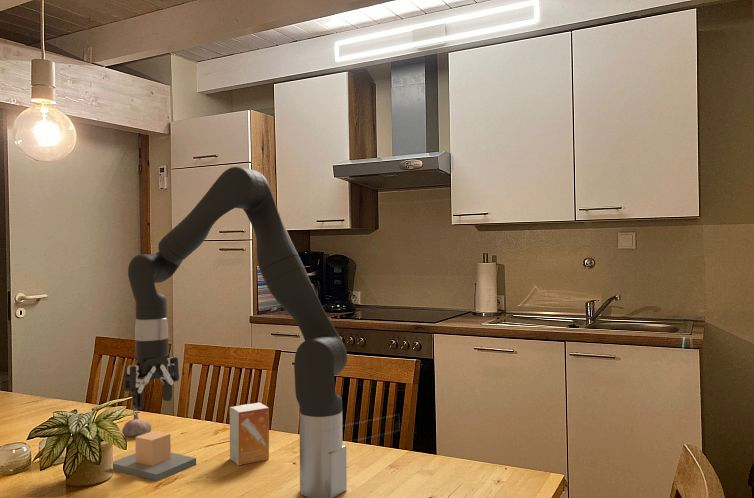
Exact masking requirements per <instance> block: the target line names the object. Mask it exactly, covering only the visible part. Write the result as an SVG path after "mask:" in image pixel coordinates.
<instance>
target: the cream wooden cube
mask: <svg viewBox="0 0 754 498" xmlns="http://www.w3.org/2000/svg"><path fill="white" fill-rule="evenodd" d="M134 437H135V439H134V440H135V453H136V462H137V463H142V464H146V465H150V466H153V465H156V464H158V463H161V462H163V461H166V460H169V459H171V453H172V452H171V433H167V432H162V431H158V430H151V431H150V432H149V433H146V434H143V435H140V436H134Z"/></svg>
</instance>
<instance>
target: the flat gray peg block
mask: <svg viewBox="0 0 754 498" xmlns="http://www.w3.org/2000/svg"><path fill="white" fill-rule="evenodd" d="M112 462H113V470H112V471H116V472H120V473H125V474H128V475H131V476H136V477H140V478H142V479H146V480H150V481H151V480H152V481H155V482H158V481H160V480H163V479H165V478H167V477H170V476H172V475H174V474H177V473H179V472H182V471H184V470H186V469H189V468H190V467H193V466H196V465H197V458H196V457H191V456H188V455H183V454H179V453H174V452H171V459H169V460H166V461H163V462H161V463H158V464H156V465H153V466H150V465H146V464H142V463H137V462H136V452H135V453H132V454H130V455H127V456H124V457H122V458H119V459H116V460H113V461H112Z"/></svg>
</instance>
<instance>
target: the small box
mask: <svg viewBox="0 0 754 498" xmlns="http://www.w3.org/2000/svg"><path fill="white" fill-rule="evenodd" d="M229 459H230V460H232V461H233V463H235V464H237V465H238V466H243V465H246V464H251V463H256V462H262V461H268V460H269V459H270V407H268V406H267V405H265V404H263V403H261V402H260V401H259V402H254V403H248V404H241V405H235V406H229Z"/></svg>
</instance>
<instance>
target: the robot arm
mask: <svg viewBox="0 0 754 498" xmlns="http://www.w3.org/2000/svg"><path fill="white" fill-rule="evenodd" d="M235 209H242V210H243V212H244V213H245V215H246V216H247V218H248V220H249V222H250V225H251V226H252V229H253V231H254V235H255V239H256V240H255V241H256V260H257V261H256V262H257V265H258V269H259V271H260V274H261V276H262V278H263V281H264V282H265V285H266V287H267V289H268V291H269V292H270V294H271V296H272V297H273V298H274V299H275V300H276V302H278V304H279V305H280V306H281V307H282V308H283V309H284V310H285V311H286V312H287V313H288V315H289V316H290V317H291V318H292V319H293V320H294V322H295V324H296V325H297V327H298V328H299V330H300V333H301V336H303V339H304V341H303V342H302V343H300V344H299V346H298V347H297V349H296V351H295V355H294V361H293V366H294V367H293V369H294V387H295V389H294V390H295V391H294V392H295V398H296V401H297V403H298V407H299V409H298V410H299V493H300V495H302V496H304V497H306V498H336V497H337V496H339V495H340V494H342V493H344V492H345V491H347V489H348V487H347V486H348V485H347V482H348V481H347V478H348V477H347V473H348V471H347V469H348V467H347V465H348V464H347V463H348V462H347V446H346V445H344V444H343V399H342V397H341V396H340V395H339V394H337V393H336V388H335V387H336V385H335V376H336V375H338V374H339V373H341V372H342V371H343V370H344V369H345V368H346V365H347V362H348V361H347V360H348V352H347V348H346V346H345V344H344V341H343V340H342V338H341V337H340V335H339V333H338V331H337V329H336V328H335V327H334V324H333V323H332V322H331V320H330V318H329V316H328V314H327V313H326V311H325V309H324V308H323V305H322V303H321V300H320V299H319V296H318V295H317V292H316V289H315V288H314V285H313V284H312V282H311V279H310V278H309V275H308V272H307V270H306V267H305V265H304V264H303V261H302V258H301V257H300V255H299V253H298V251H297V249H296V247H295V245H294V243H293V241H292V238H291V236H290V235H289V232H288V230H287V227H286V226H285V224H284V223H283V220H282V217H281V215H280V212H279V209H278V206H277V204H276V201H275V197H274V196H273V192H272V189H271V186H270V183H269V182H268V180H267V178H266V177H265V176H264V175H263V174H262V173H261V172H259V171H257V170H256V169H255V170H254V169H251V168H246V167H242V166H233V167H232V166H231V167H229V168H227V169H226V170H224V171H223V172H222V174H220V176H218V178H217V179H216V180H215V182H214V183H213V184H212V185H211V186H210V188H209V189H208V190H207V191H206V193H205V194H204V195H203V197H202V198H201V199H200V200H199V202H198V203H197V204H196V205H195V207H194V208H193V209H192V210H191V211H190V212H189V213H188V214H187V215H186V216H185V217H184V218H183V219H182V220H181V221H180V222H179V223H177V225H176V226H174V227H173V228H172V229H171V230H170V231H169V232H168V233H167V234H166V235H164V236H163V237H162V238H161V240H160V241H159V242H158V245H157V248H158V249H157V250H158V251H157V252H156V253H153V254H151V253H150V254H145V253H143V254H137V255H135V256H133V257H132V259H131V260H130V262H129V264H128V268H127V276H128V281H129V286H130V288H131V292H132V294H133V298H134V302H135V325H134V346H135V347H134V348H135V352H134V353H135V358H136V360H137V362H136V364H135V365H129V364H127V365H126V366H124V383H123V384H124V387H123V390H124V391H125V392H128V393H131V395H132V399H131V401H132V407H133V409H134V408H135V409H137V410H141V409H143V407H144V404H143V403H144V401H143V400H144V399H143V390H144V389H145V386H146V385H148V384H149V382H150V381H154V380H155V379H157V380H160V382H161V383H162V401H165V402H170V401H171V400H172V397H173V385H174V383H175V382H178V381H179V380H180V370H179V359H178V357H176V356H169V354H170V352H169V349H170V348H169V347H170V346H169V323H168V311H167V310H168V307H167V305H168V304H167V297H166V295H164V294H162V293H160V292H158V291H157V289H156V286H155V285H156V284H160V283H163V282H165V281H167V280H169V278H171V277H172V276H173V275H175V273H176V271H177V270H178V269H179V267H180V266H181V264H182V263H183V261H184V260H185V259H186V258H188V257H189V256H190V255H191V254H192V253H193V252H195V251H196V250H197V249H198V248H199V247H201V245H202V244H203V243H204V241H205V240H206V239H207V237H208V234H209V233H210V231H211V229H212V227H213V226H214V225H215V223H216V222H217V221H218V220H219V219H220V218H221V217H223V216H224V215H226V214H227V213H229V212H230V211H233V210H235Z"/></svg>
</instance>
